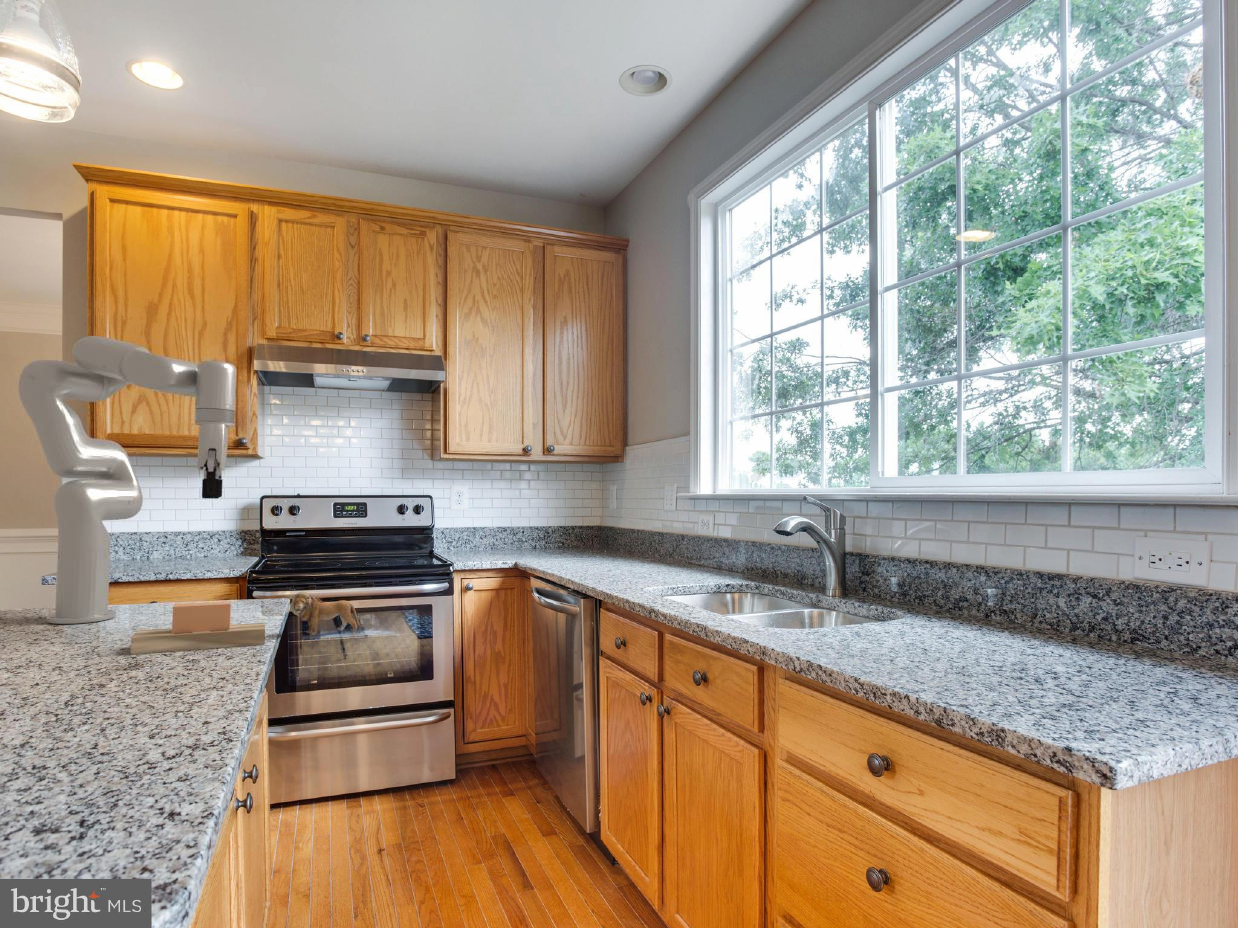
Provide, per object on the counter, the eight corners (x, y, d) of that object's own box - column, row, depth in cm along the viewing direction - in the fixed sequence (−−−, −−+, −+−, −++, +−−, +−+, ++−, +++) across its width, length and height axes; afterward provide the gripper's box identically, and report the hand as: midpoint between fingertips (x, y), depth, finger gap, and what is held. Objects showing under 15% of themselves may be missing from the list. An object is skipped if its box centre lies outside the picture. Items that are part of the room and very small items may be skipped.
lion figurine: (291, 638, 146) (293, 594, 146) (288, 633, 151) (289, 590, 151) (365, 631, 154) (367, 590, 154) (360, 627, 158) (361, 586, 158)
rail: (136, 646, 136) (137, 630, 136) (264, 637, 146) (265, 622, 146) (130, 654, 130) (131, 637, 130) (264, 644, 140) (265, 629, 140)
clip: (173, 643, 138) (175, 603, 138) (229, 639, 142) (231, 601, 142) (171, 647, 135) (172, 606, 135) (229, 643, 139) (230, 603, 139)
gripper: (198, 420, 160) (195, 496, 159) (191, 414, 144) (188, 498, 144) (236, 422, 163) (233, 497, 163) (233, 416, 148) (230, 499, 147)
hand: (212, 497), depth 153 cm, fingers open, 9 cm apart
